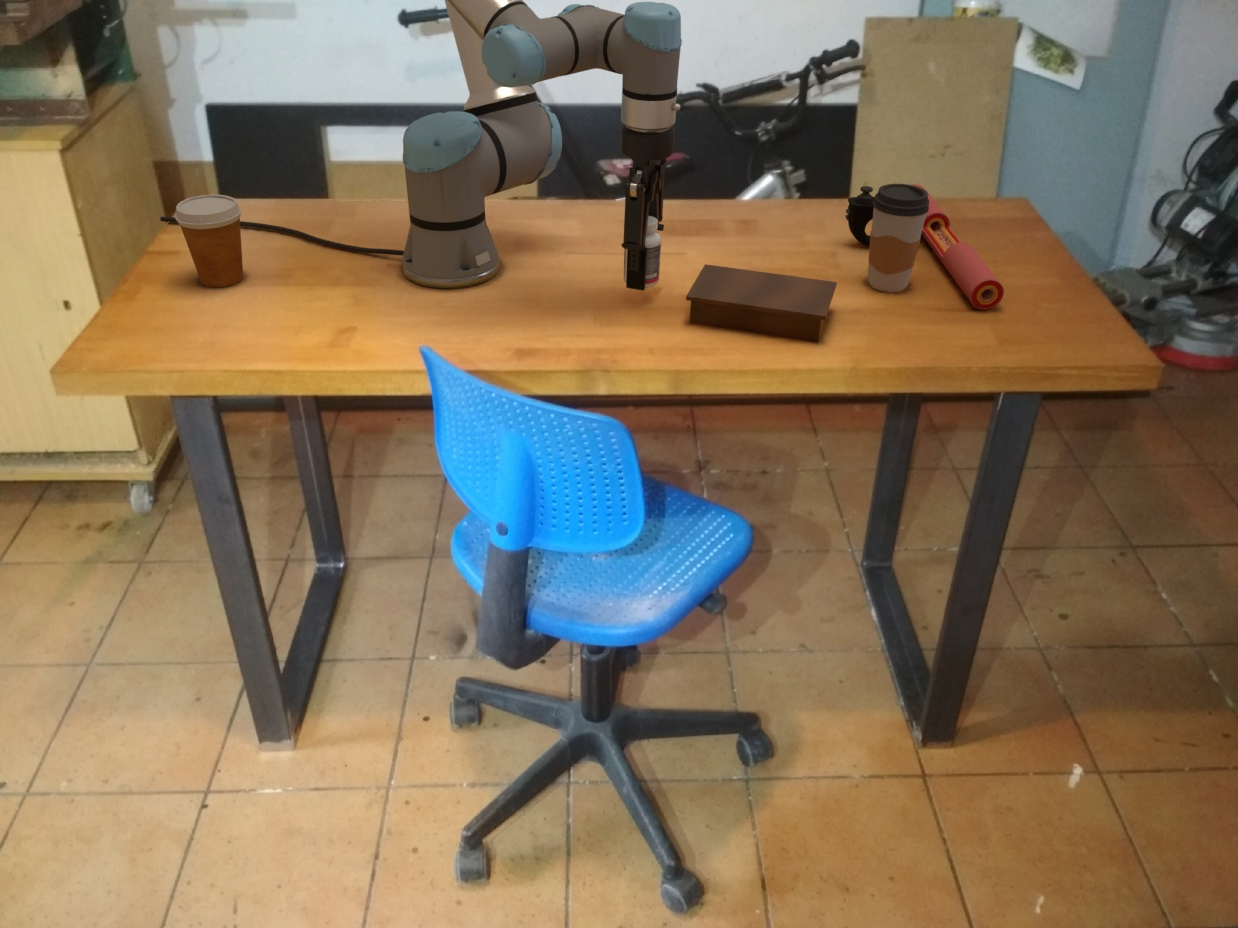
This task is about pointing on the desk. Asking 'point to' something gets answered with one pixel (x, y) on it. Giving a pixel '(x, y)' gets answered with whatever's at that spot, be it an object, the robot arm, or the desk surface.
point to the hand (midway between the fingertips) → (641, 279)
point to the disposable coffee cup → (213, 237)
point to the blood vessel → (961, 259)
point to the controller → (860, 214)
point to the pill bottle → (650, 254)
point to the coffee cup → (895, 235)
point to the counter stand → (760, 302)
